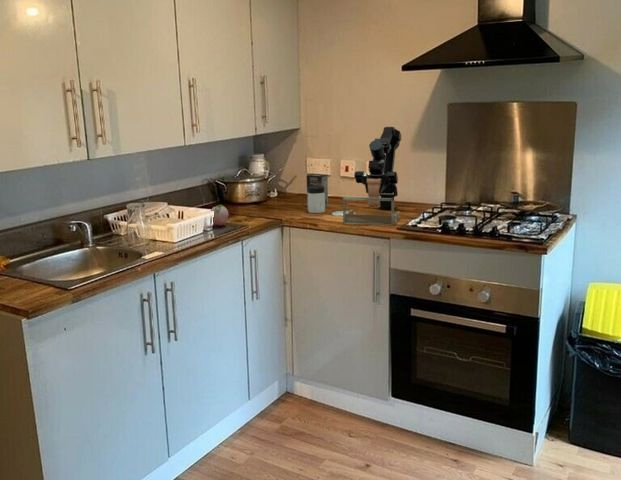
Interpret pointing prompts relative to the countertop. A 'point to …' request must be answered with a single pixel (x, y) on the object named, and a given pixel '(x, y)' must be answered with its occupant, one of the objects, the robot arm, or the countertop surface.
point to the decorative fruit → (220, 215)
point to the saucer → (339, 213)
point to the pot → (374, 191)
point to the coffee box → (318, 184)
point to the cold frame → (369, 218)
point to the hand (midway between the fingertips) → (373, 193)
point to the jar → (316, 199)
